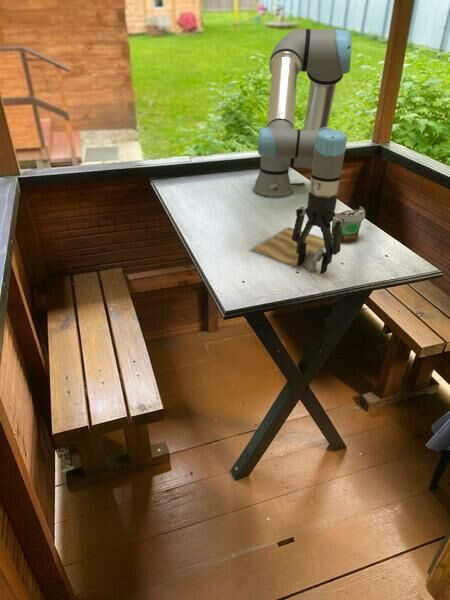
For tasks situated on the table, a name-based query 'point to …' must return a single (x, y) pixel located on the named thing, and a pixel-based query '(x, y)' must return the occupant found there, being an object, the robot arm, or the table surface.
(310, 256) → the lighter
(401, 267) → the table surface
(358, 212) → the food container
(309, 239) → the wooden board
